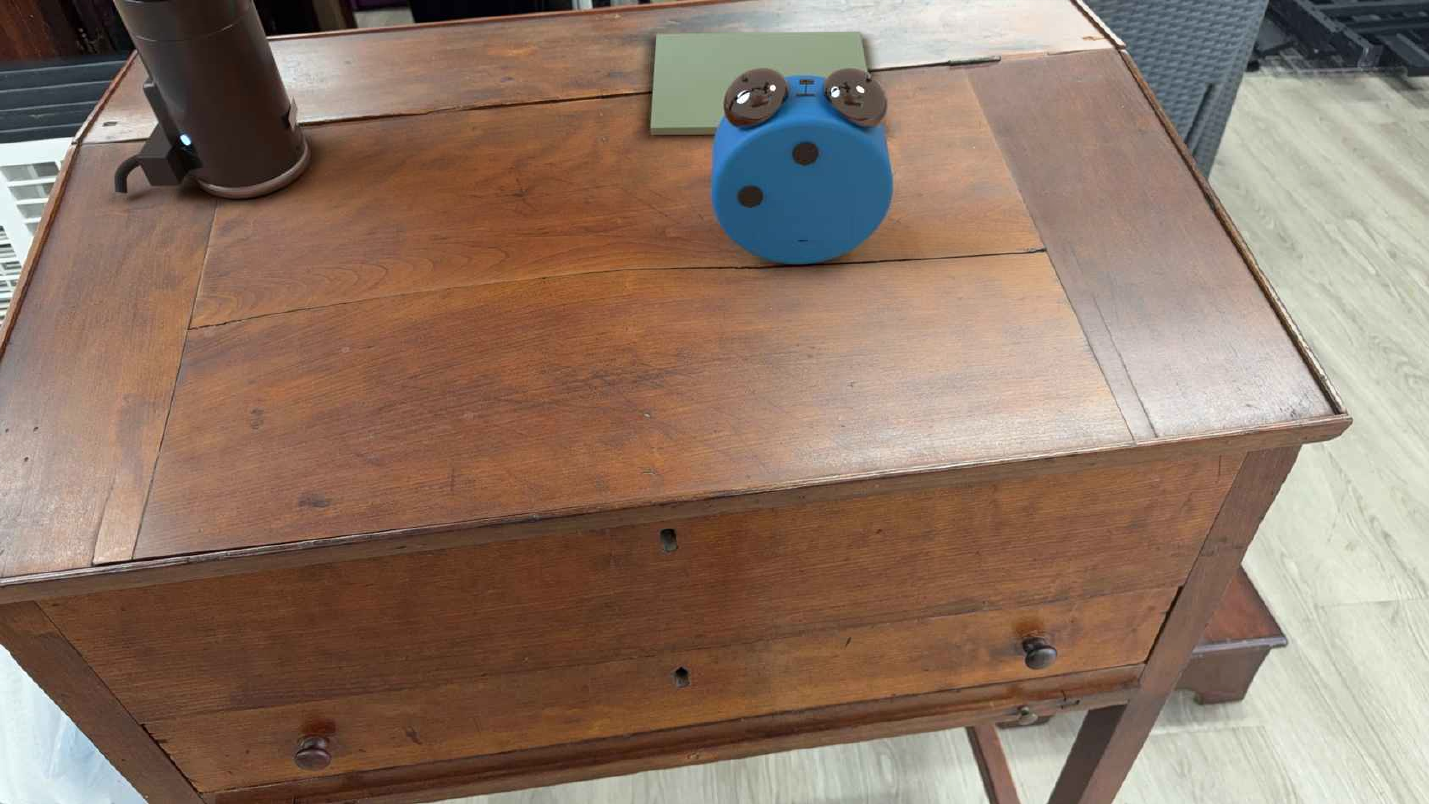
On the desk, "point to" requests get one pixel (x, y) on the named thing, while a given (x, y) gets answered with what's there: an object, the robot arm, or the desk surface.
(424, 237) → the desk surface
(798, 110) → the alarm clock
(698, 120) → the mat
